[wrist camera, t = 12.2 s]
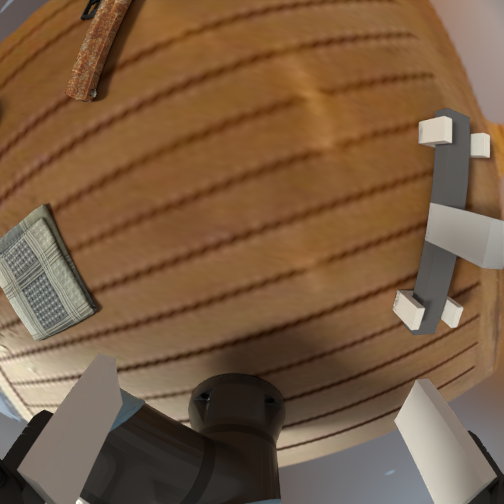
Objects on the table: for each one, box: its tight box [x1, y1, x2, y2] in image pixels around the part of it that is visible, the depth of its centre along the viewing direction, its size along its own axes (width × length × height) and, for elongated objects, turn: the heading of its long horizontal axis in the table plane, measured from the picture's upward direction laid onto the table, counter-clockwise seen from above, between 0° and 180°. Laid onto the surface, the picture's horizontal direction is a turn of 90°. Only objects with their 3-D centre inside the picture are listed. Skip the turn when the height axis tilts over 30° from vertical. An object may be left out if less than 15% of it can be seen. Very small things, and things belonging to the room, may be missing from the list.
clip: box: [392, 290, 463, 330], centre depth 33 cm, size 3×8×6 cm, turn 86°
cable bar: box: [404, 108, 504, 335], centre depth 27 cm, size 30×4×12 cm, turn 176°
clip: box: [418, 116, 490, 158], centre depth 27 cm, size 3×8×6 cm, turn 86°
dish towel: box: [0, 204, 97, 341], centre depth 35 cm, size 19×18×3 cm
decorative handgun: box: [65, 0, 134, 102], centre depth 25 cm, size 3×28×15 cm
